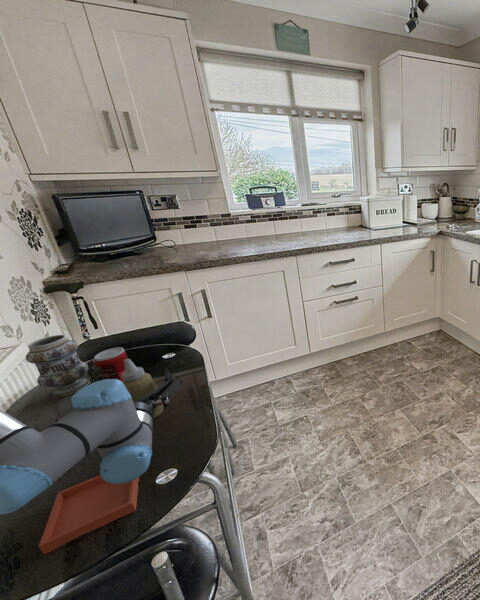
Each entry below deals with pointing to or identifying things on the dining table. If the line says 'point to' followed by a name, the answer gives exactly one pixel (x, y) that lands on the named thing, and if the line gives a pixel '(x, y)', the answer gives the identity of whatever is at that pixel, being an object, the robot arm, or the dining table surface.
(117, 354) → the canned food
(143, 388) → the squeeze bottle
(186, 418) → the dining table surface
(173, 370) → the dining table surface
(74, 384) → the apothecary jar
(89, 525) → the tray
